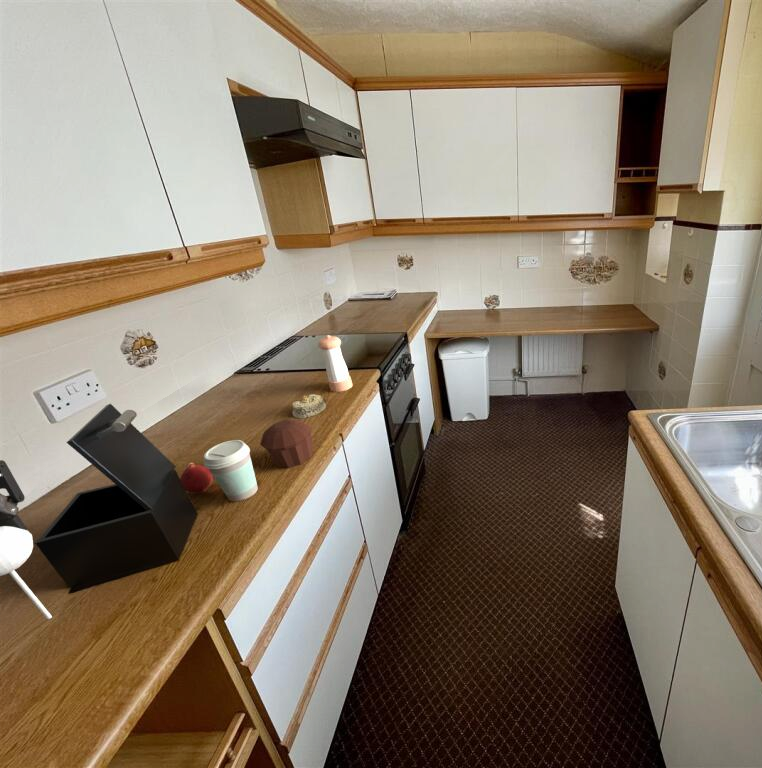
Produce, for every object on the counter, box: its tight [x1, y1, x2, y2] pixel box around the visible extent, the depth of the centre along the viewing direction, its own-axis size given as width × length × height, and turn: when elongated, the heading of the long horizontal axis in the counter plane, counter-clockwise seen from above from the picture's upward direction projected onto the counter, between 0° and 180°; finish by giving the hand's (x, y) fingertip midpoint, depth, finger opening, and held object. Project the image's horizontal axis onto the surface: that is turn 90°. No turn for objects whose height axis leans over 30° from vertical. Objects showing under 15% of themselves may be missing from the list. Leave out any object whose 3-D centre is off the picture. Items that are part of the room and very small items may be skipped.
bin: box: [34, 469, 199, 593], centre depth 77 cm, size 16×14×12 cm
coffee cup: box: [203, 439, 259, 502], centre depth 90 cm, size 8×8×12 cm
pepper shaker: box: [318, 334, 353, 393], centre depth 138 cm, size 7×7×19 cm
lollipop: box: [0, 526, 53, 620], centre depth 51 cm, size 6×6×15 cm
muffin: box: [259, 419, 314, 469], centre depth 102 cm, size 12×11×10 cm
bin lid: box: [66, 403, 177, 511], centre depth 73 cm, size 16×14×5 cm
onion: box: [180, 462, 214, 494], centre depth 92 cm, size 6×6×8 cm
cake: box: [291, 393, 327, 419], centre depth 127 cm, size 10×10×5 cm
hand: (2, 560), depth 49 cm, fingers closed on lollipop, 6 cm apart
